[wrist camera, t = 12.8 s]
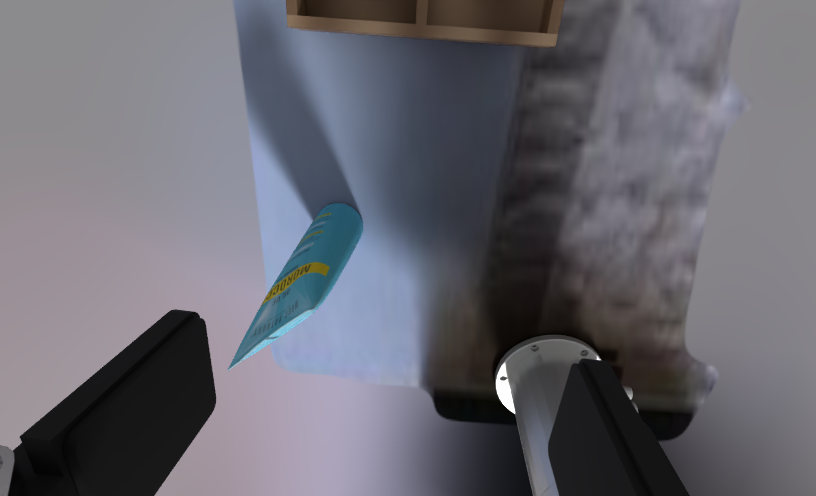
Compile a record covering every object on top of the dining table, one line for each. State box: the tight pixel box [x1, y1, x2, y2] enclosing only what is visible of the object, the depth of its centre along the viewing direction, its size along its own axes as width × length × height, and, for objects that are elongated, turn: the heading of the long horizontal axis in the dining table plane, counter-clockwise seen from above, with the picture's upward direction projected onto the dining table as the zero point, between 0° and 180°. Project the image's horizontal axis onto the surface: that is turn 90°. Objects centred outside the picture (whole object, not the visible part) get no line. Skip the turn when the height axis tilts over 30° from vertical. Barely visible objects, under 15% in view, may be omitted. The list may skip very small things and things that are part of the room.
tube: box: [228, 203, 363, 371], centre depth 33 cm, size 7×5×19 cm, turn 134°
